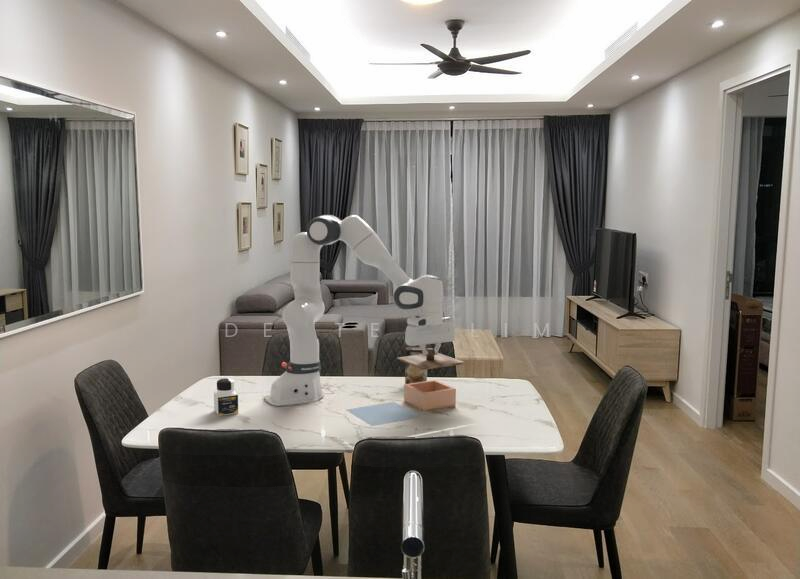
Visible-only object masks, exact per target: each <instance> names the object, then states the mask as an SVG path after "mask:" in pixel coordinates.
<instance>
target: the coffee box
mask: <svg viewBox="0 0 800 579" xmlns="http://www.w3.org/2000/svg"><path fill="white" fill-rule="evenodd" d="M425 349H426V350H427V349H428V347H425ZM420 354H422V350H421V348H420V346H407V347H406V348H405V356H413V355H420ZM404 366H405V367H404V368H405V369H404V371H405V372H404V385H405V384H411V383H418V382H424V381H428V369H426V370H422V369H420V368H417V367H415V366H412V365H410V364H407V363H405V364H404Z"/></svg>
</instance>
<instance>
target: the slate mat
mask: <svg viewBox="0 0 800 579" xmlns="http://www.w3.org/2000/svg"><path fill="white" fill-rule="evenodd" d="M346 411H347V412H349V413H351V414H352V415H353V416H355V417H357V418H358V419H360V420H361V421H363V422H365V423H366V424H368V425H369V426H372V427H373V426H379V425H384V424H390V423H396V422H400V421H406V420H412V419H418V418H421V417H422V416H421V415H420V414H418V413H416V412H414V411H412V410H410V409H408V408H406V407H405V406H403V405H401V404H399V403H398V402H395V401H390V402H384V403H378V404H372V405H366V406H360V407H359V406H358V407H353V408H348V409H347V408H346ZM422 418H423V417H422Z"/></svg>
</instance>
